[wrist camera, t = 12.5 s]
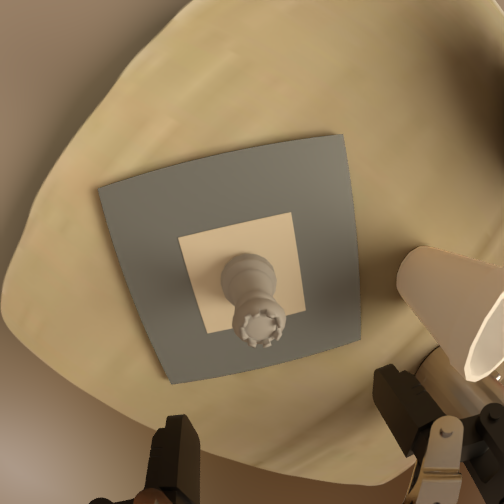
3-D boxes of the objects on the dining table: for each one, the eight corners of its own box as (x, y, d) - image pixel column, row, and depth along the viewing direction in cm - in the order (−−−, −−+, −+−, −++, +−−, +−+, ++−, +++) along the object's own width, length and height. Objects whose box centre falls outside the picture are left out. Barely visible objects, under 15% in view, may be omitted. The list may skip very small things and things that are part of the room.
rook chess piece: (285, 271, 24) (315, 321, 16) (251, 310, 25) (266, 371, 17) (243, 240, 23) (255, 280, 15) (209, 282, 23) (206, 338, 16)
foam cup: (444, 298, 29) (515, 353, 17) (383, 323, 28) (452, 399, 16) (448, 223, 26) (540, 262, 14) (383, 241, 25) (481, 300, 13)
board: (338, 134, 22) (343, 133, 21) (356, 334, 28) (360, 340, 27) (102, 187, 21) (97, 188, 20) (172, 378, 27) (171, 385, 26)
